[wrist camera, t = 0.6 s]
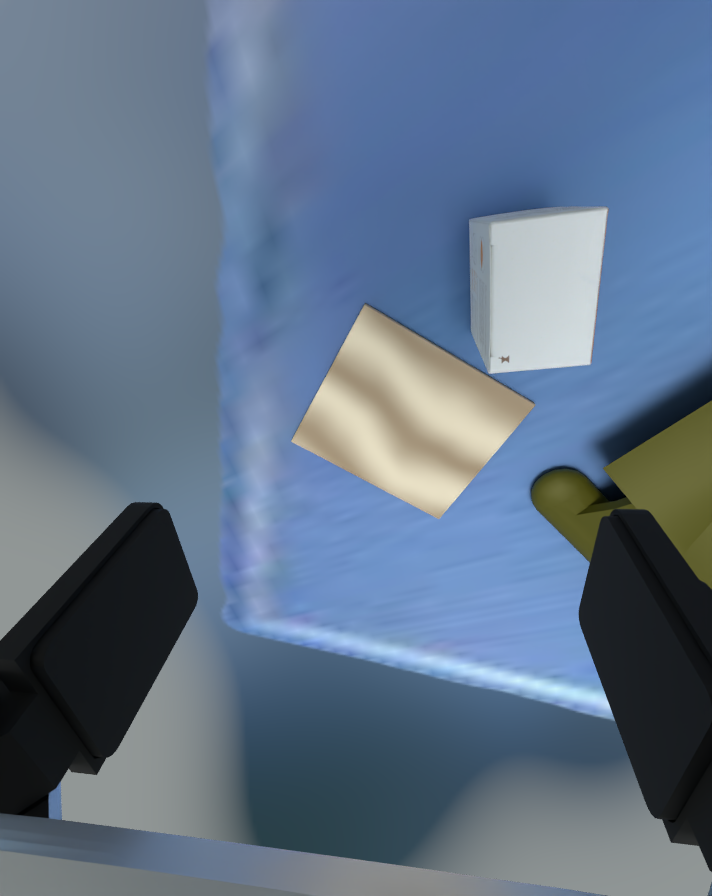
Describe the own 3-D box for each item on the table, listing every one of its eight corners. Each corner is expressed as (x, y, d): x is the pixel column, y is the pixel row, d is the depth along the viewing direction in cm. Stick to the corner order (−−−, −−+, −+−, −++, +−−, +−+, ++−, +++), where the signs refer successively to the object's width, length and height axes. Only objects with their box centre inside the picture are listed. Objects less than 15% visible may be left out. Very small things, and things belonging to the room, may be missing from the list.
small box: (544, 324, 33) (593, 369, 24) (468, 331, 34) (487, 378, 25) (553, 204, 30) (614, 204, 20) (467, 216, 31) (489, 221, 21)
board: (365, 303, 34) (364, 304, 34) (534, 402, 36) (535, 405, 36) (292, 438, 41) (291, 441, 40) (438, 516, 43) (438, 519, 43)
